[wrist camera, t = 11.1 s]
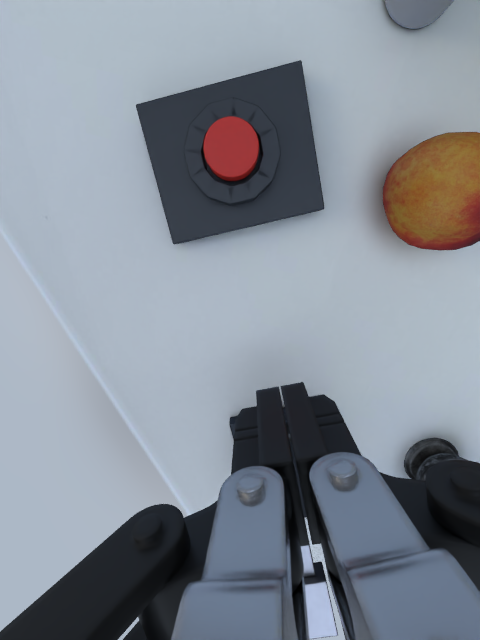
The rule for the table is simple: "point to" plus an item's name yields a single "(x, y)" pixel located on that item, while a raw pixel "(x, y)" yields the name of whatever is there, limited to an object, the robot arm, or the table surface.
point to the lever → (316, 595)
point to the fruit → (436, 193)
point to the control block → (272, 164)
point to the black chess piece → (428, 456)
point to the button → (231, 148)
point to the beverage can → (416, 11)
